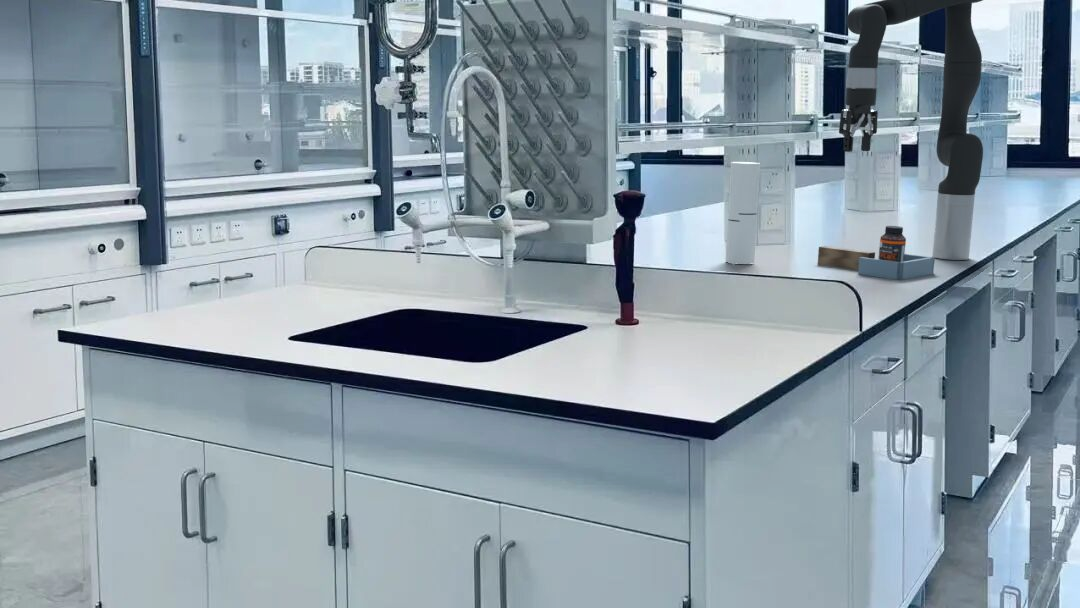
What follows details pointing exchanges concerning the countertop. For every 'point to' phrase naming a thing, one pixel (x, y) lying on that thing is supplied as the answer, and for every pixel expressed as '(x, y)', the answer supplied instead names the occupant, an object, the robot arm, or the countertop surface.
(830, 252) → the scraper
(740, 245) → the cylindrical container
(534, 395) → the countertop surface
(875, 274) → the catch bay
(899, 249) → the supplement bottle
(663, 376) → the countertop surface
